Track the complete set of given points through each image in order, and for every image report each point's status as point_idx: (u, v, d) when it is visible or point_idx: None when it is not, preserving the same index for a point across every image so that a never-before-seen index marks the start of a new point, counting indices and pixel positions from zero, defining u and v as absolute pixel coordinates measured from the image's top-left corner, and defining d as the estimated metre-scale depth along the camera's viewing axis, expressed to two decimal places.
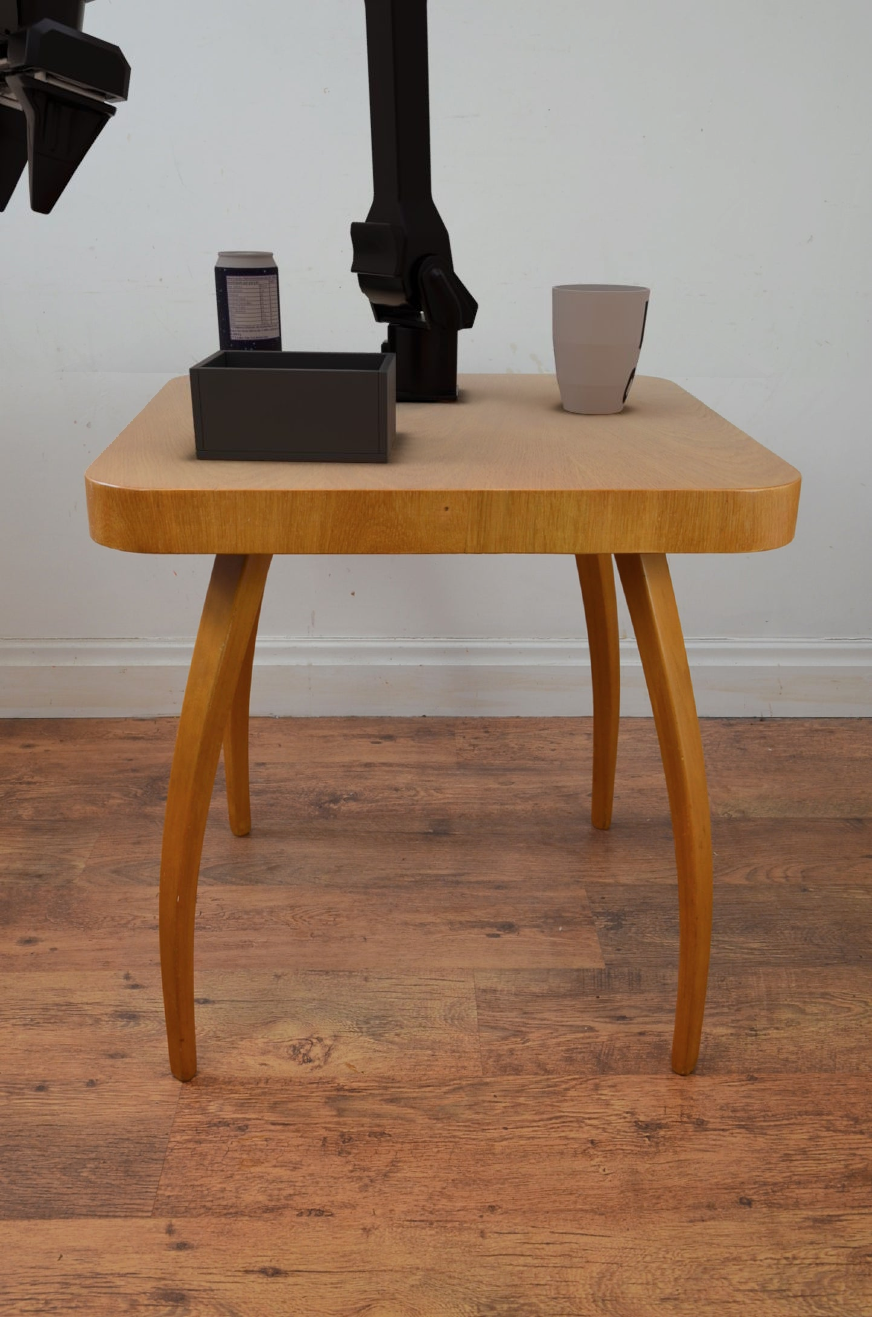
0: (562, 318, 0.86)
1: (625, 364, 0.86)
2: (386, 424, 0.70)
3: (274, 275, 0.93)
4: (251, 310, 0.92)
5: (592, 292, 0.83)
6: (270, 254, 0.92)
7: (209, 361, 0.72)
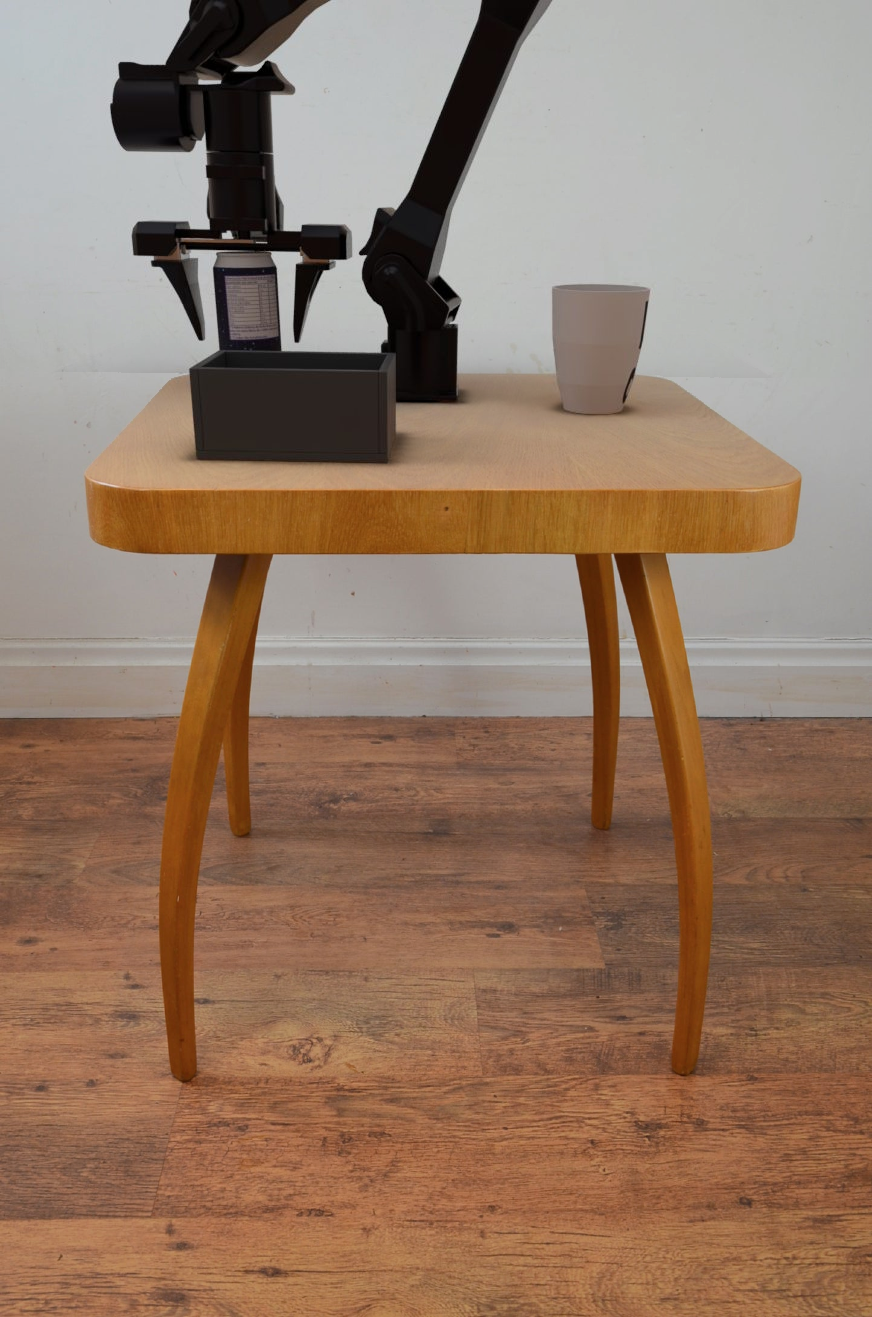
0: (562, 318, 0.86)
1: (625, 364, 0.86)
2: (386, 424, 0.70)
3: (272, 274, 0.93)
4: (250, 310, 0.92)
5: (592, 292, 0.83)
6: (268, 254, 0.92)
7: (209, 361, 0.72)
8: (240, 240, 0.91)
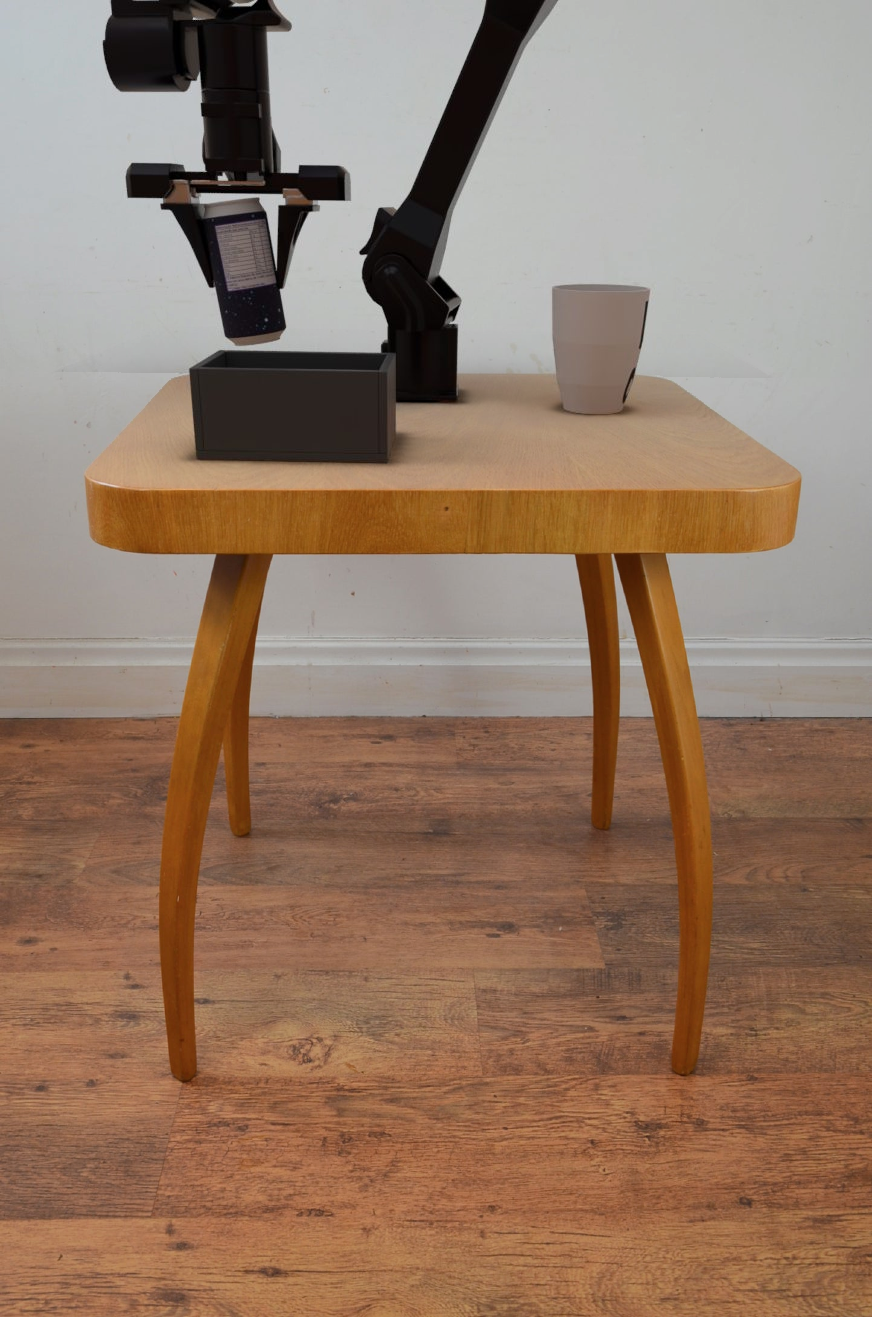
0: (562, 318, 0.86)
1: (625, 364, 0.86)
2: (386, 424, 0.70)
3: (263, 219, 0.91)
4: (244, 258, 0.90)
5: (592, 292, 0.83)
6: (256, 198, 0.90)
7: (209, 361, 0.72)
8: (251, 182, 0.89)
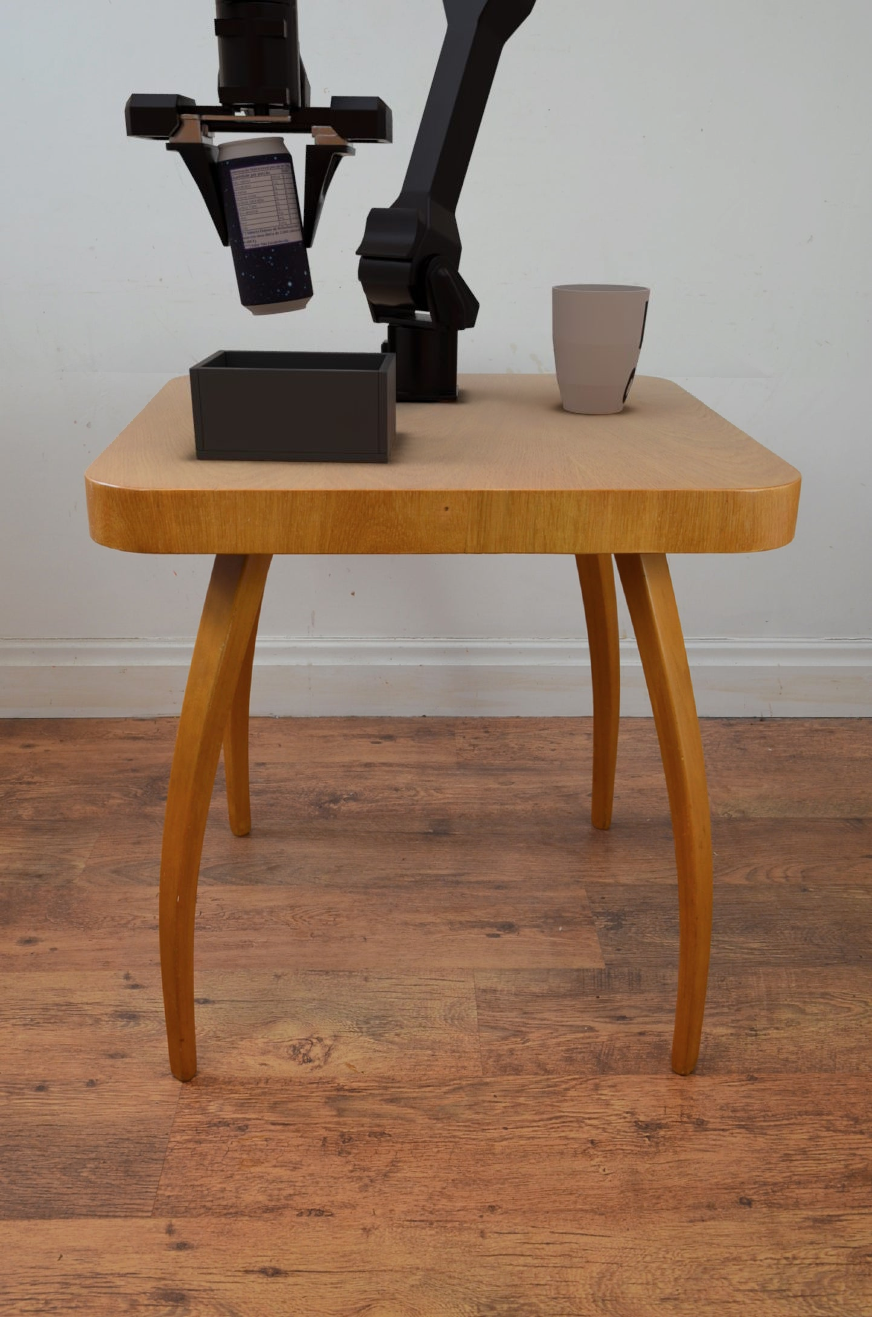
0: (562, 318, 0.86)
1: (625, 364, 0.86)
2: (386, 424, 0.70)
3: (287, 163, 0.76)
4: (265, 209, 0.76)
5: (592, 292, 0.83)
6: (280, 138, 0.76)
7: (209, 361, 0.72)
8: (274, 117, 0.74)
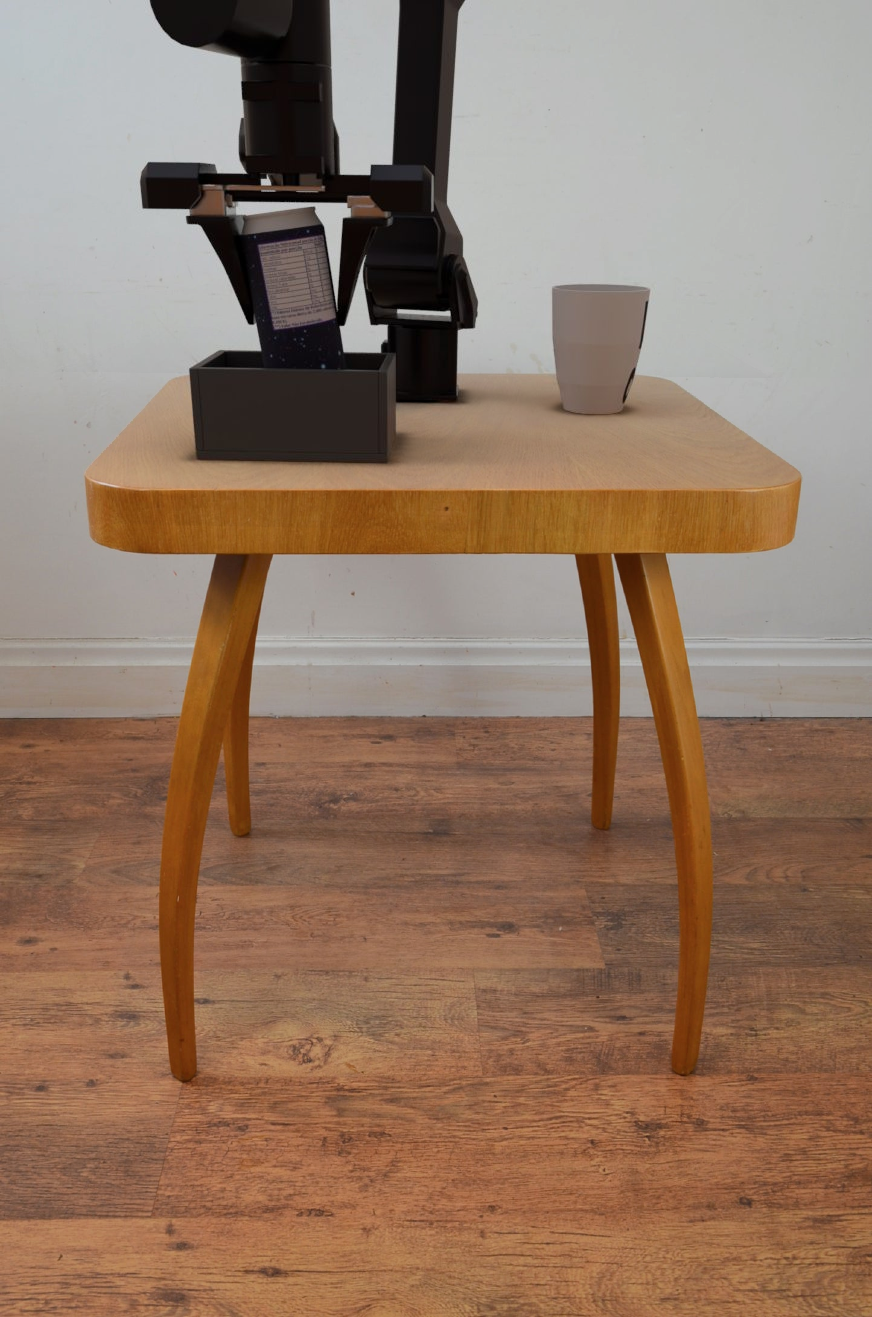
0: (562, 318, 0.86)
1: (625, 364, 0.86)
2: (386, 424, 0.70)
3: (320, 235, 0.69)
4: (296, 287, 0.69)
5: (592, 292, 0.83)
6: (312, 208, 0.69)
7: (209, 361, 0.72)
8: (307, 187, 0.67)
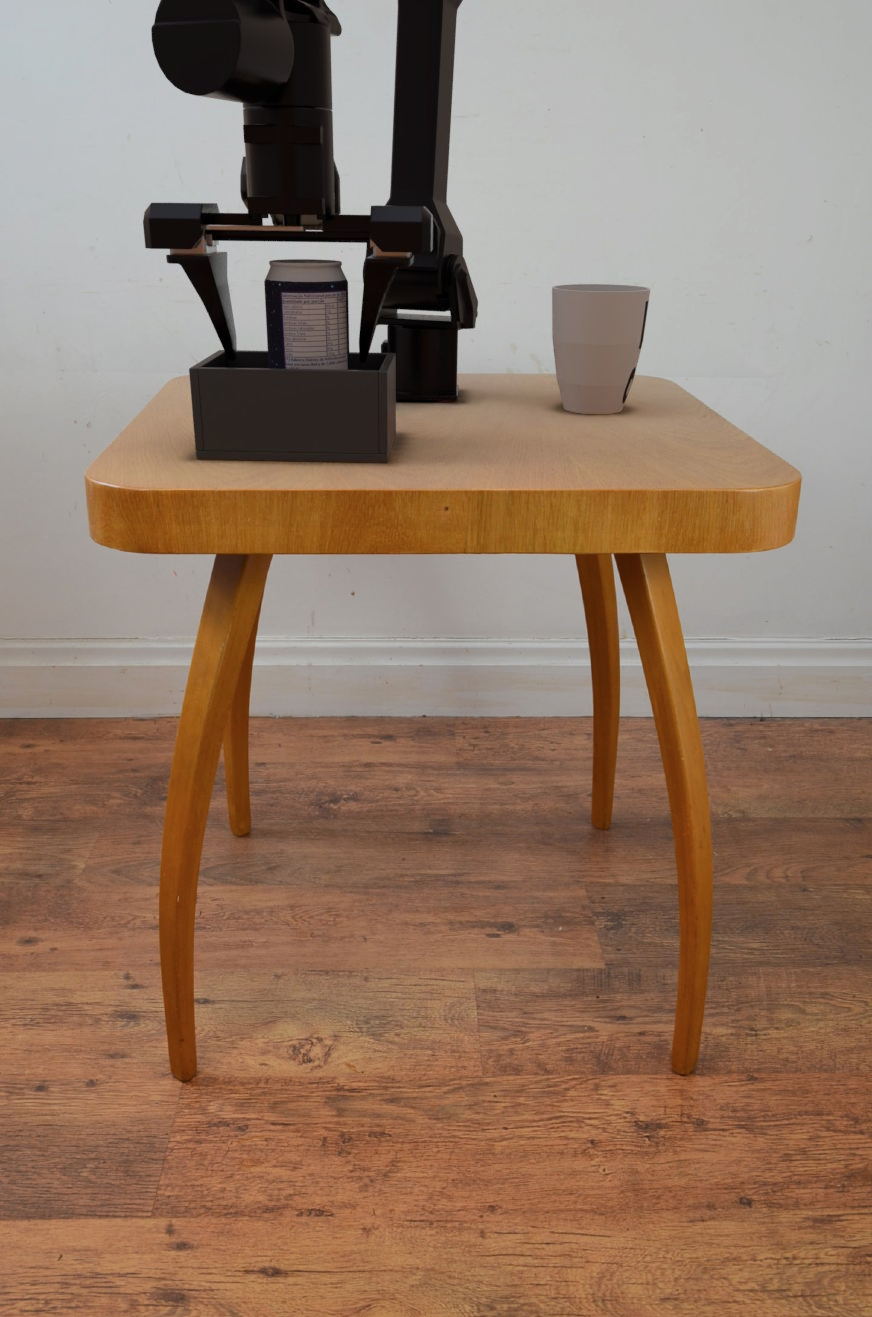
0: (562, 318, 0.86)
1: (625, 364, 0.86)
2: (386, 424, 0.70)
3: (343, 291, 0.70)
4: (314, 338, 0.70)
5: (592, 292, 0.83)
6: (339, 264, 0.70)
7: (209, 361, 0.72)
8: (285, 227, 0.68)
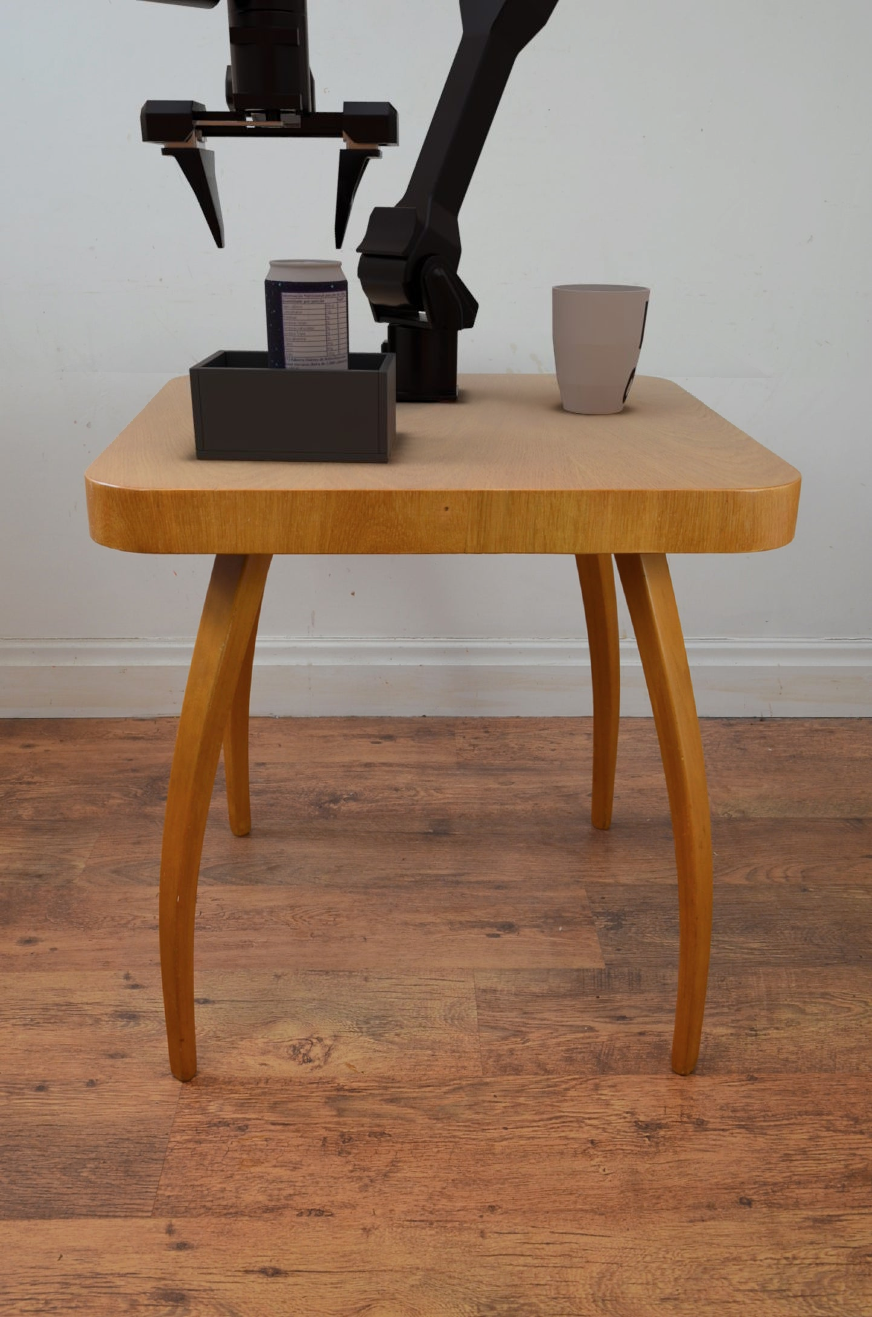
0: (562, 318, 0.86)
1: (625, 364, 0.86)
2: (386, 424, 0.70)
3: (343, 291, 0.70)
4: (314, 338, 0.70)
5: (592, 292, 0.83)
6: (339, 264, 0.70)
7: (209, 361, 0.72)
8: (267, 122, 0.76)
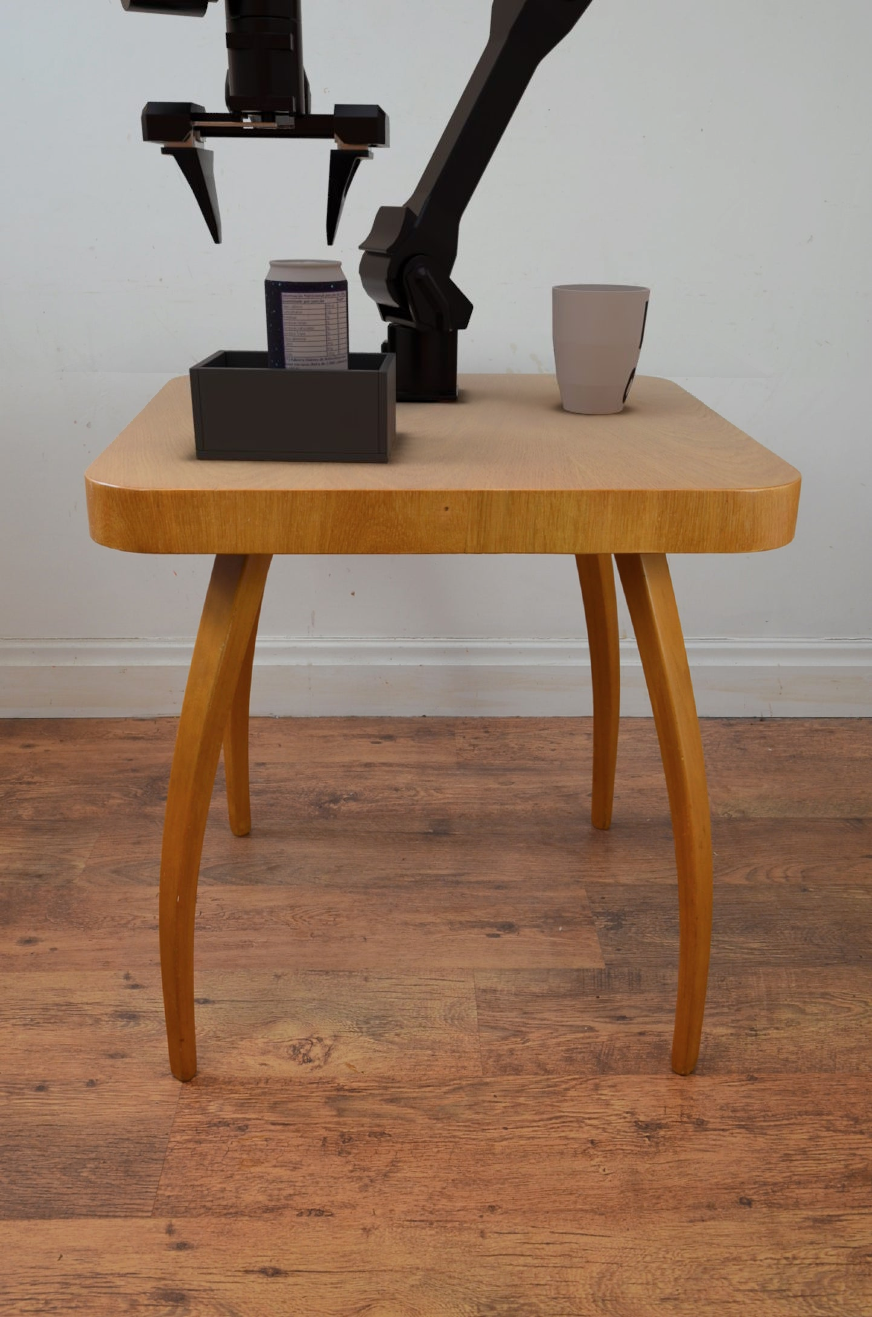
0: (562, 318, 0.86)
1: (625, 364, 0.86)
2: (386, 424, 0.70)
3: (343, 291, 0.70)
4: (314, 338, 0.70)
5: (592, 292, 0.83)
6: (338, 264, 0.70)
7: (209, 361, 0.72)
8: (262, 123, 0.80)
